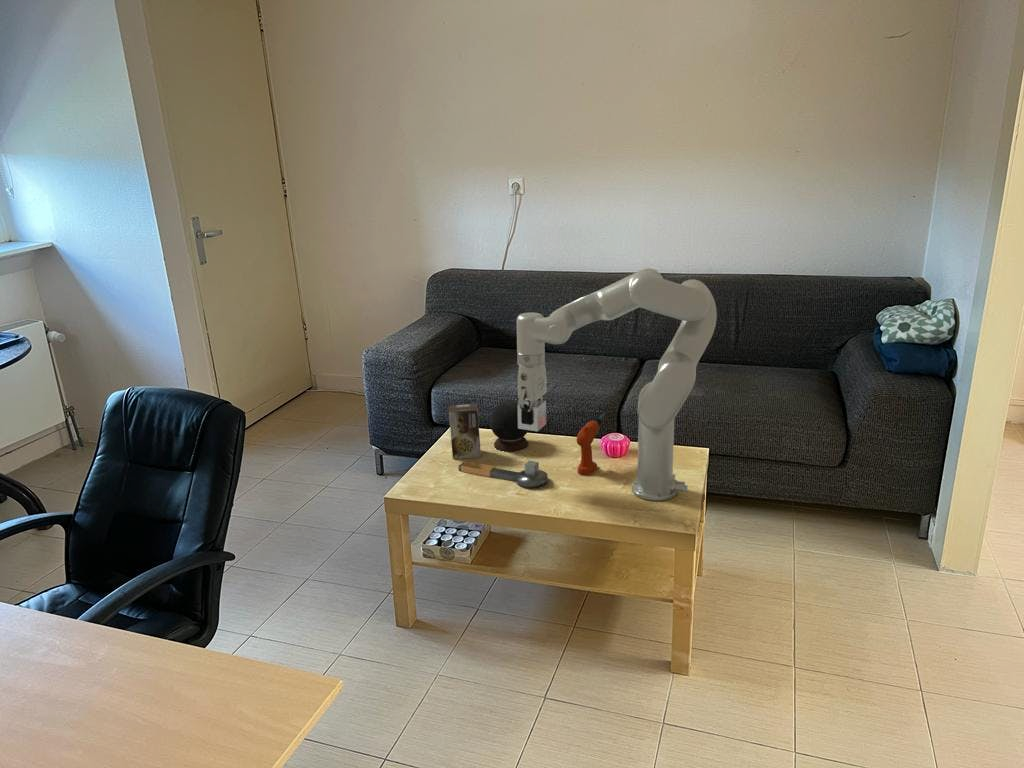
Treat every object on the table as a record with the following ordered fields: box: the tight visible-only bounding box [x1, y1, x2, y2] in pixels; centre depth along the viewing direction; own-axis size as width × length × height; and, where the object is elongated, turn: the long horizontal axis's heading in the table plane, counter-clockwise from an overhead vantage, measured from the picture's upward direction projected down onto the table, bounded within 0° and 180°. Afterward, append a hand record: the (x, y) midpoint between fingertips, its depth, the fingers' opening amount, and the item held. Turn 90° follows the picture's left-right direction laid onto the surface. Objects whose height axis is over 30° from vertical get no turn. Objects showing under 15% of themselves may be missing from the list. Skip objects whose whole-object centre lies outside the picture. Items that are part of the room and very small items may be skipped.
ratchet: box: [458, 460, 549, 490], centre depth 215 cm, size 28×9×6 cm, turn 63°
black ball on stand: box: [489, 400, 529, 453], centre depth 236 cm, size 13×13×15 cm
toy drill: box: [576, 412, 607, 476], centre depth 219 cm, size 5×19×15 cm, turn 150°
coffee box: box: [448, 403, 482, 460], centre depth 230 cm, size 9×6×16 cm
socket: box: [517, 398, 547, 432], centre depth 204 cm, size 6×6×7 cm
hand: (532, 419), depth 204 cm, fingers closed on socket, 6 cm apart
